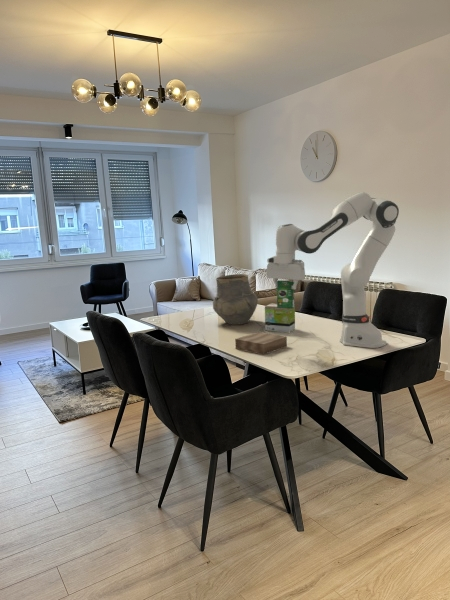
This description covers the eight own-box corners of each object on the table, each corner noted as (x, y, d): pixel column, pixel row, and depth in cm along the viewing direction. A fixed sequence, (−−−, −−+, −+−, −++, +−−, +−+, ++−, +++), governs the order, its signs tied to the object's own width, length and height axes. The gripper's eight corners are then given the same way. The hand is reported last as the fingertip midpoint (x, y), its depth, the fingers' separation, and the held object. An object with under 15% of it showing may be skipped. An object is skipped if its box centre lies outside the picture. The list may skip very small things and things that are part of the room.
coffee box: (295, 307, 216) (294, 280, 214) (293, 308, 214) (293, 281, 212) (278, 307, 220) (278, 280, 218) (276, 308, 217) (276, 280, 215)
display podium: (286, 346, 226) (286, 336, 225) (263, 354, 213) (263, 344, 213) (259, 341, 239) (258, 331, 238) (235, 348, 226) (235, 338, 225)
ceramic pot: (267, 322, 284) (266, 274, 280) (230, 329, 269) (228, 279, 264) (240, 316, 308) (239, 272, 303) (205, 322, 292) (202, 276, 287)
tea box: (264, 331, 261) (264, 305, 259) (271, 327, 270) (270, 302, 268) (289, 332, 254) (289, 306, 252) (295, 329, 263) (295, 303, 261)
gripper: (308, 259, 208) (307, 289, 210) (272, 258, 222) (272, 286, 224) (300, 260, 204) (300, 291, 206) (264, 259, 218) (264, 287, 220)
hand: (285, 288), depth 215 cm, fingers closed on coffee box, 8 cm apart
